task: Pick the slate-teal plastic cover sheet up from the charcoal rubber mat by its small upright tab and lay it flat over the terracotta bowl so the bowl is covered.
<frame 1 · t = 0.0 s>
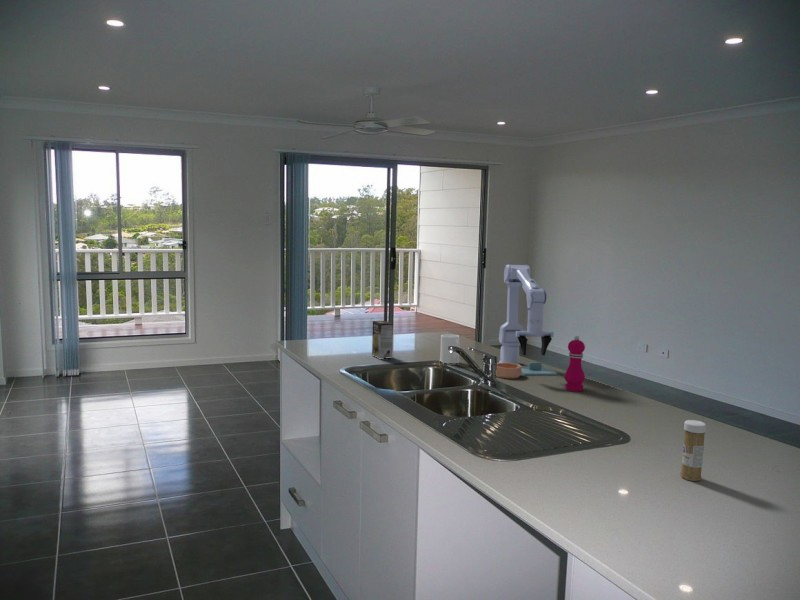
hand: (533, 355, 239), 10 cm above the worktop, tool pointing down, fingers open, 7 cm apart
bowl: (506, 376, 246), on the worktop
pepper mill: (574, 389, 228), on the worktop
coffee box: (381, 357, 278), on the worktop
cover sheet: (534, 371, 255), on the worktop, touching mat
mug: (451, 363, 269), on the worktop
sprinkles bottle: (690, 478, 145), on the worktop
mat: (534, 372, 255), on the worktop
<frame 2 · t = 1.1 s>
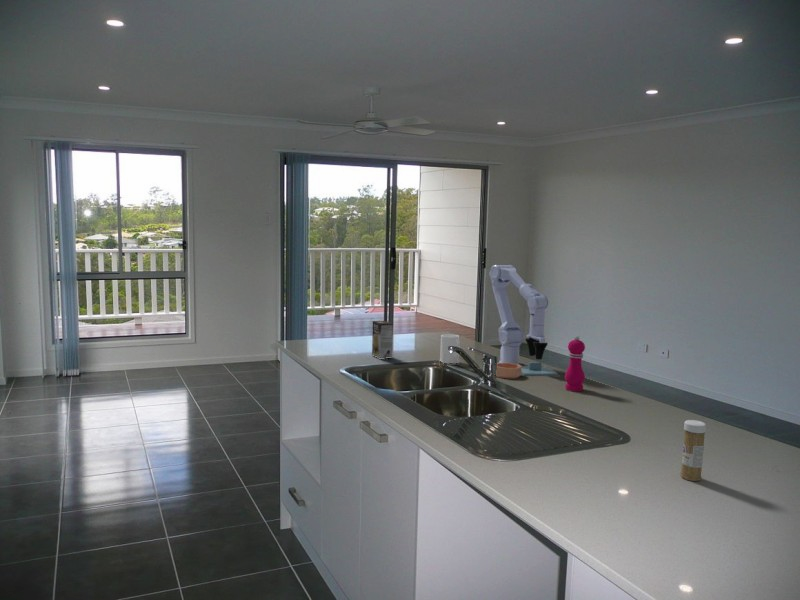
hand: (535, 357, 254), 6 cm above the worktop, tool pointing down, fingers open, 7 cm apart
nothing on the worktop moved.
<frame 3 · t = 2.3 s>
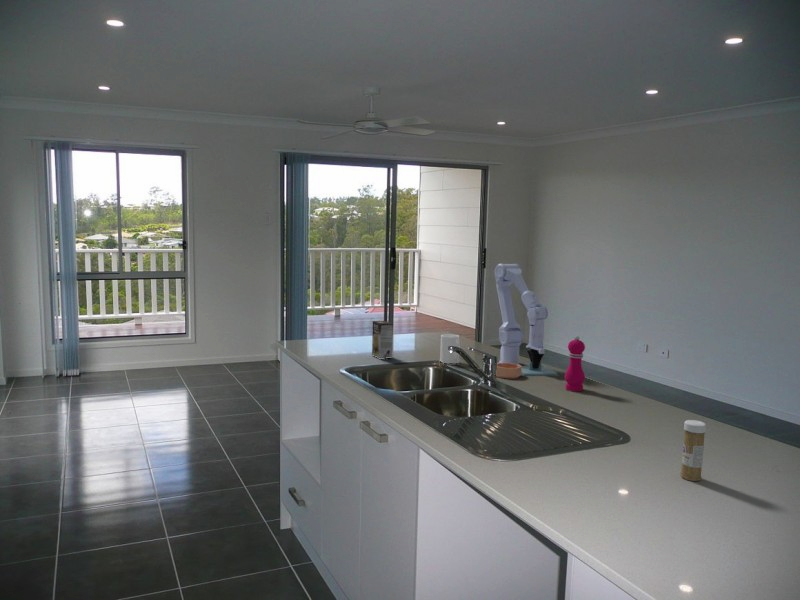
hand: (534, 367, 254), 2 cm above the worktop, tool pointing down, fingers closed on cover sheet
cover sheet: (534, 371, 255), on the worktop, touching gripper, mat
everything else where it was.
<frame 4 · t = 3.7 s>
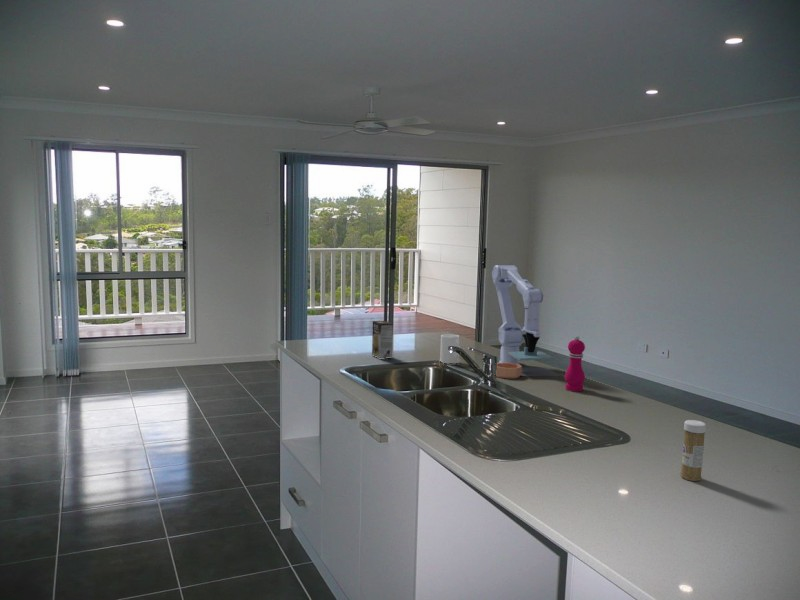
hand: (530, 351, 252), 9 cm above the worktop, tool pointing down, fingers closed on cover sheet
cover sheet: (530, 356, 252), point 7 cm above the worktop, touching gripper
everything else where it was.
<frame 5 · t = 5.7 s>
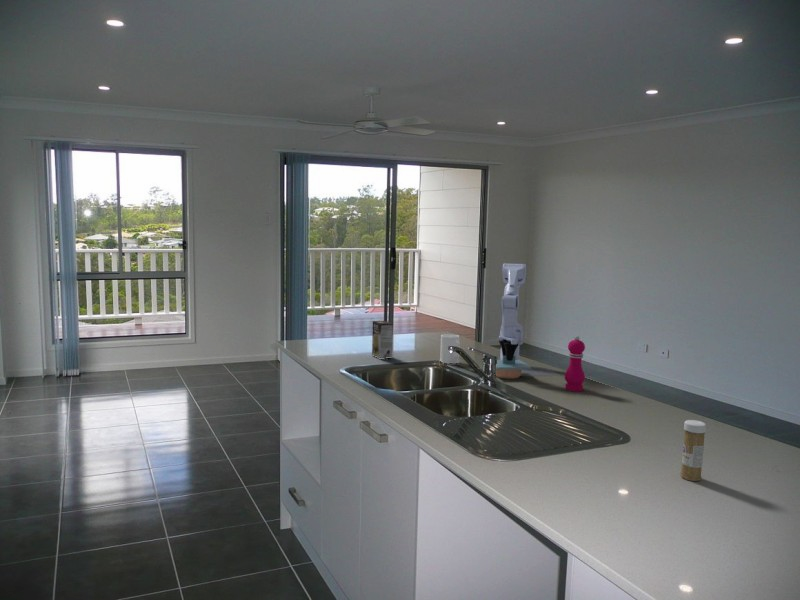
hand: (507, 359, 245), 7 cm above the worktop, tool pointing down, fingers open, 4 cm apart
cover sheet: (508, 365, 245), point 4 cm above the worktop, touching bowl
everything else where it was.
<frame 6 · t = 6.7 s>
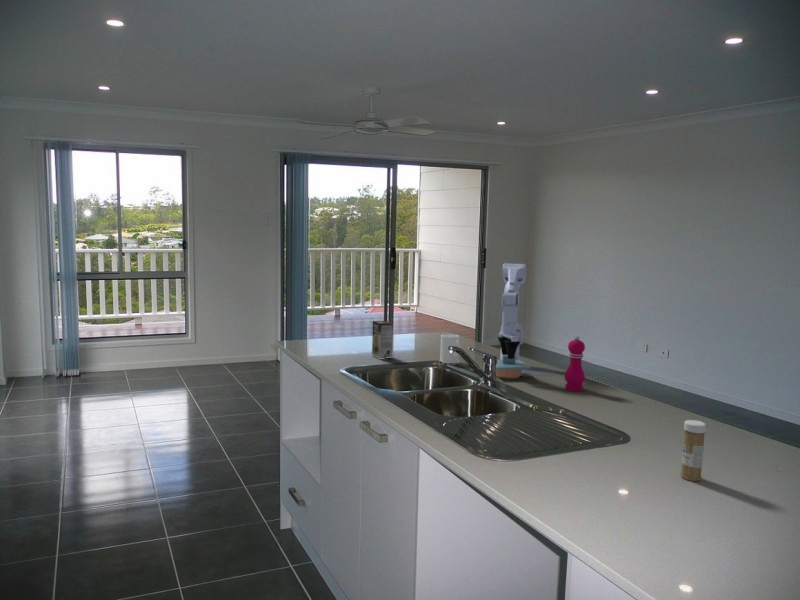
hand: (507, 356, 245), 8 cm above the worktop, tool pointing down, fingers open, 7 cm apart
nothing on the worktop moved.
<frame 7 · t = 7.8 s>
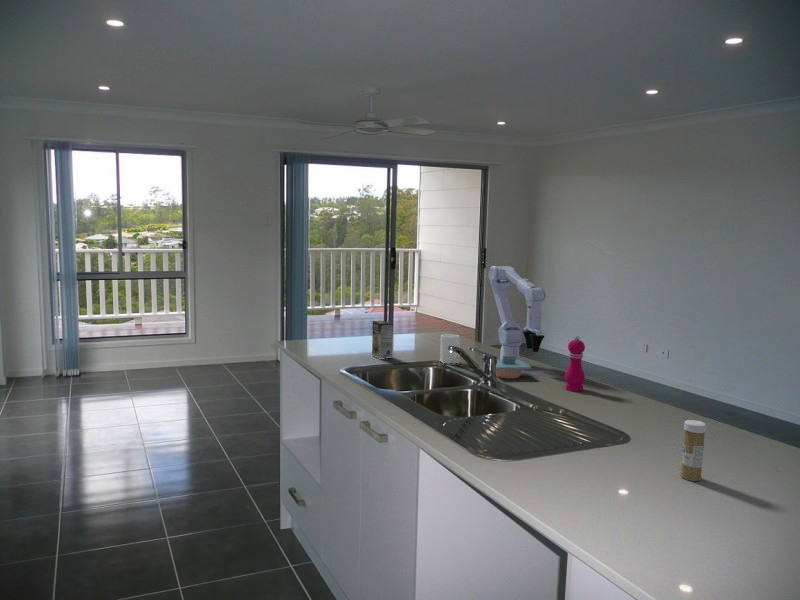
hand: (532, 350, 253), 9 cm above the worktop, tool pointing down, fingers open, 7 cm apart
nothing on the worktop moved.
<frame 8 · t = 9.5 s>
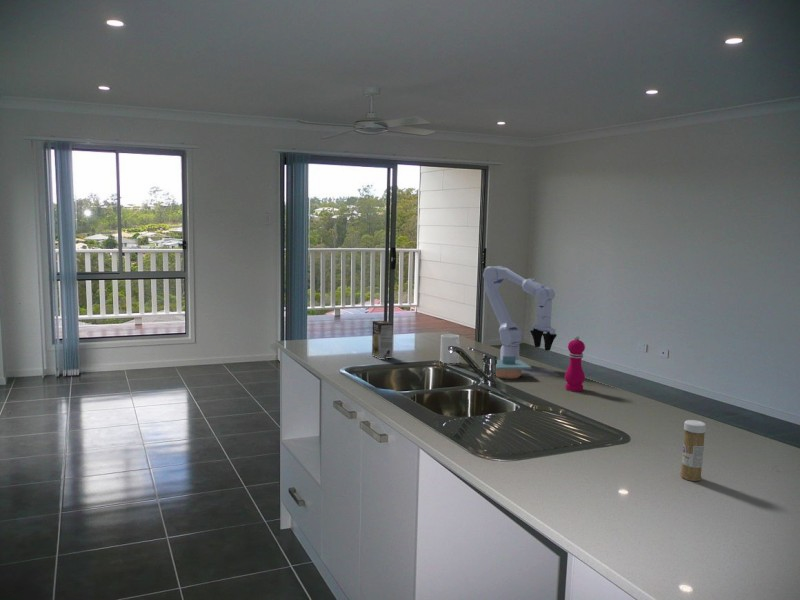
hand: (542, 348, 257), 9 cm above the worktop, tool pointing down, fingers open, 7 cm apart
nothing on the worktop moved.
at the end: cover sheet 0.5 cm off-centre on the bowl, point 4.5 cm above the bowl's base; cover sheet tilted 0°; the gripper is holding nothing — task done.
